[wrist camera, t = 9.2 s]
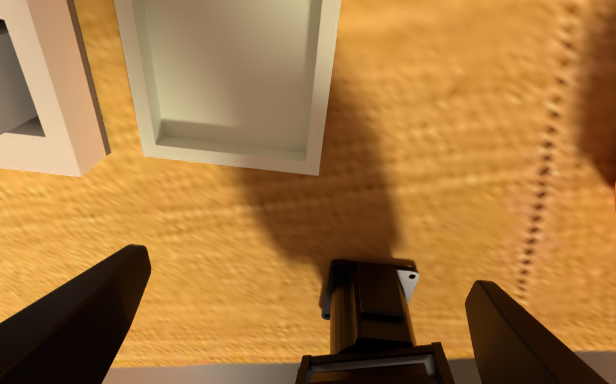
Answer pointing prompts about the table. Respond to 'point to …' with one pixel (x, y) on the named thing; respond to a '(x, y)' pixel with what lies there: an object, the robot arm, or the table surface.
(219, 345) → the table surface
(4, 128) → the plug
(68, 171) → the power strip
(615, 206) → the beige round lump
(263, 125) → the tray
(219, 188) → the table surface
